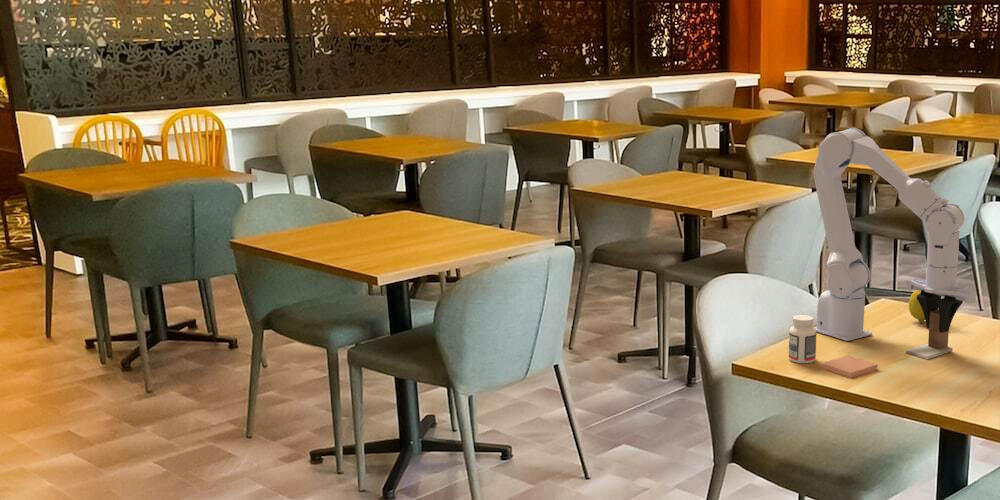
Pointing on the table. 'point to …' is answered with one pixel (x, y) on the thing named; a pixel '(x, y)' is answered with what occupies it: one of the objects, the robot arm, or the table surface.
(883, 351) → the table surface
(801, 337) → the pill bottle
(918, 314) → the lemon
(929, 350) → the brown grey l-shaped block
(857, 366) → the tile
